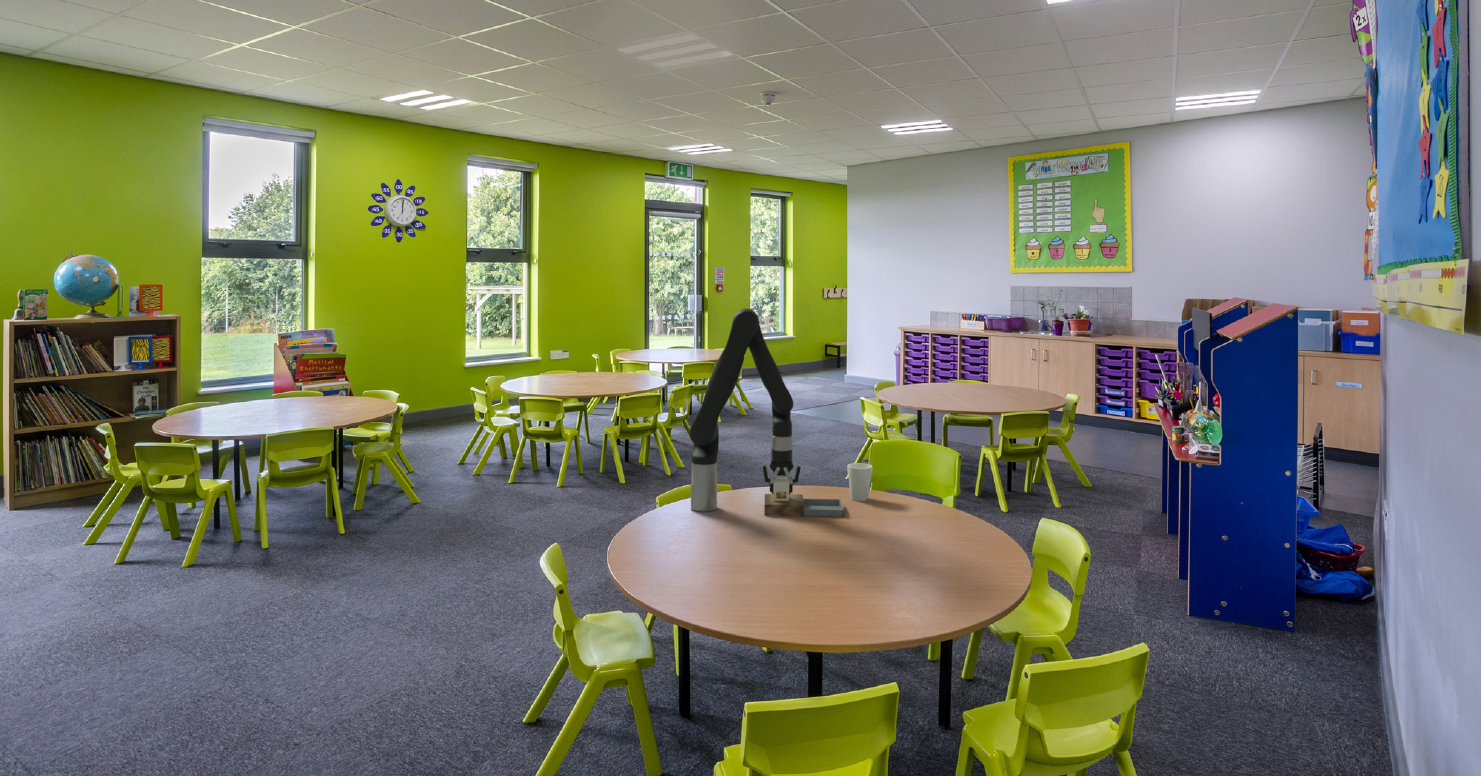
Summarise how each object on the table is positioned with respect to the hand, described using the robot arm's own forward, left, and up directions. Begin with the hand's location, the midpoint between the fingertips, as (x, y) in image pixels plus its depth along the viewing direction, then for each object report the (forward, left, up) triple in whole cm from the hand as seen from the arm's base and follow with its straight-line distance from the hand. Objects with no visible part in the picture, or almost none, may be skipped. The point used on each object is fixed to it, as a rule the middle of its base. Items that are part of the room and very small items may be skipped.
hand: (781, 493), depth 281 cm
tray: (+15, 0, -6) cm, 16 cm away
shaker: (0, 0, -2) cm, 2 cm away
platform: (+1, 0, -6) cm, 6 cm away
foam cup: (+30, +16, -6) cm, 35 cm away
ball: (0, 0, -1) cm, 1 cm away
